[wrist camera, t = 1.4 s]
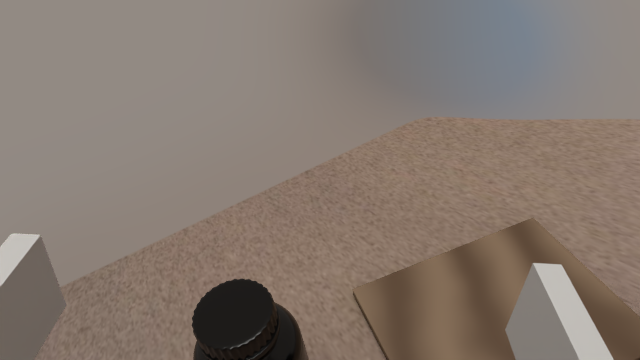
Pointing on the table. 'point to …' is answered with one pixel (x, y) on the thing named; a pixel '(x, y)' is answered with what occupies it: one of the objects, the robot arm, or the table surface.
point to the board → (483, 299)
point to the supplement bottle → (245, 325)
